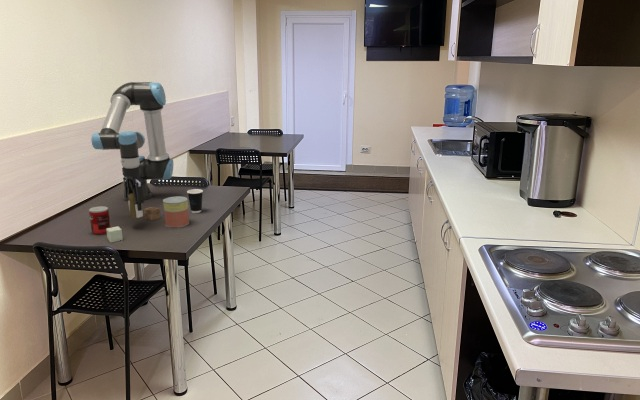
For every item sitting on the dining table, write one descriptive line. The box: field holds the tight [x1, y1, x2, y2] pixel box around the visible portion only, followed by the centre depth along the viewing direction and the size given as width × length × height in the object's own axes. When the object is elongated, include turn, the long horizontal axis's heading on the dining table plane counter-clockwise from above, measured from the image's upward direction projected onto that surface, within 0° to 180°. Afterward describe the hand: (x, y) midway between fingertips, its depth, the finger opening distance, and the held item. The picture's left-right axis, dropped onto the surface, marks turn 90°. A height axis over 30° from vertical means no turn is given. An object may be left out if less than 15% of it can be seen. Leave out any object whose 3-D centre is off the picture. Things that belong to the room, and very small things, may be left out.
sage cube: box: [106, 225, 124, 243], centre depth 206 cm, size 5×5×5 cm
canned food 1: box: [88, 205, 111, 236], centre depth 214 cm, size 8×8×11 cm
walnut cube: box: [143, 206, 161, 221], centre depth 235 cm, size 5×5×5 cm
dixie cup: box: [186, 188, 204, 214], centre depth 244 cm, size 8×8×11 cm
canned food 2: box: [162, 195, 190, 228], centre depth 226 cm, size 11×11×12 cm
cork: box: [128, 193, 141, 219], centre depth 219 cm, size 6×6×11 cm
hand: (136, 215), depth 220 cm, fingers closed on cork, 6 cm apart
